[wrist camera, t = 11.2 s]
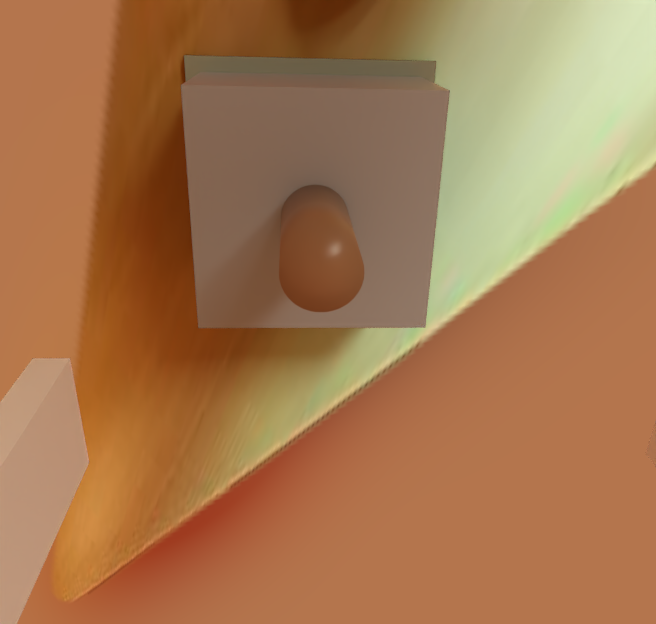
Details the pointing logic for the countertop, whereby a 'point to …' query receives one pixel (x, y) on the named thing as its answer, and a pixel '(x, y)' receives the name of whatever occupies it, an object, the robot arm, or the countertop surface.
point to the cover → (313, 198)
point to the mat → (308, 66)
